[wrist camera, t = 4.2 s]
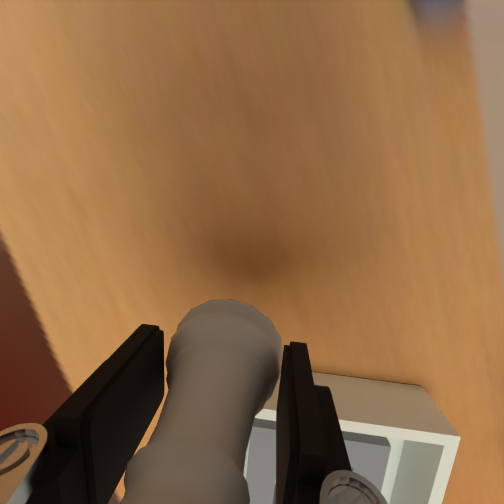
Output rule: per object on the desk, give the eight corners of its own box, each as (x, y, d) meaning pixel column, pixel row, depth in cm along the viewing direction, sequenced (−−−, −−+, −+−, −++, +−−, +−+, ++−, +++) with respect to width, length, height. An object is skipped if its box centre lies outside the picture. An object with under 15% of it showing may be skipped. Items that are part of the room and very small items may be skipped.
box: (221, 360, 22) (207, 400, 17) (421, 385, 20) (460, 436, 16) (212, 508, 25) (198, 575, 20) (384, 538, 24) (408, 616, 19)
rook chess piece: (304, 352, 11) (375, 770, 3) (225, 403, 12) (129, 815, 4) (234, 272, 10) (106, 542, 2) (157, 333, 11) (-105, 660, 3)
